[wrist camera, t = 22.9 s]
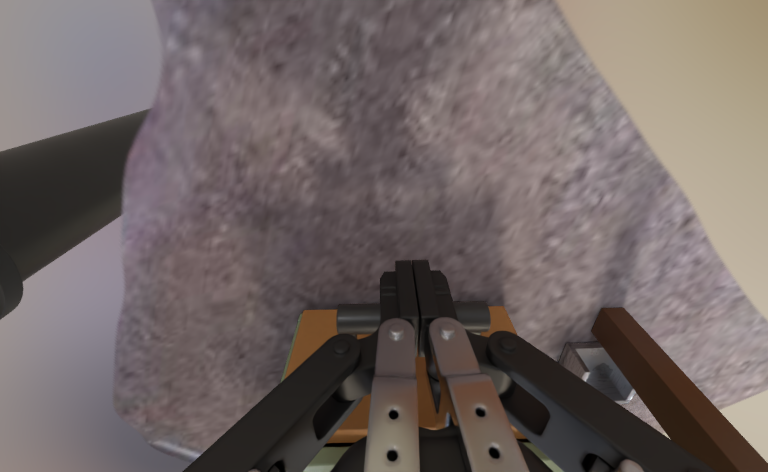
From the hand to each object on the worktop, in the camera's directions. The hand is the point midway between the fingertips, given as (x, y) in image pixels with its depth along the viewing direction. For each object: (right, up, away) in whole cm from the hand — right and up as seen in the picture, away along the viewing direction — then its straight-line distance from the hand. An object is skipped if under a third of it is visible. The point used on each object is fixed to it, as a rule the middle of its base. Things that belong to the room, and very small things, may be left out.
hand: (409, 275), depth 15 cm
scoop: (+15, -7, +10) cm, 19 cm away
